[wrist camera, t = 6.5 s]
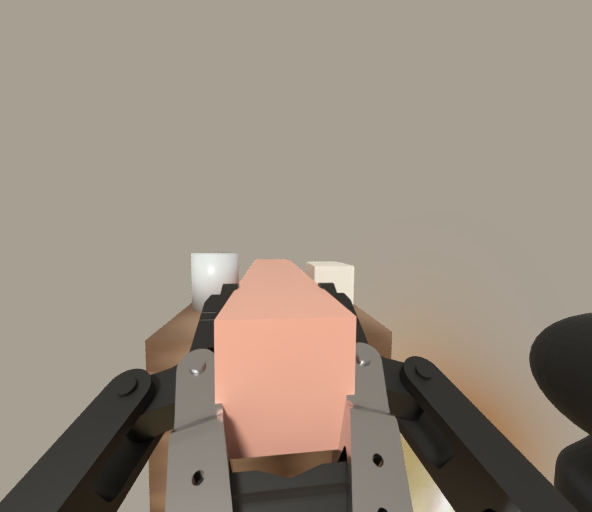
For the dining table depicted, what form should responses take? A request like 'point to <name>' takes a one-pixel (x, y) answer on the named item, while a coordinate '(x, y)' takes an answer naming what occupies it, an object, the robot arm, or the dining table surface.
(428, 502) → the dining table surface
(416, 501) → the dining table surface
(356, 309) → the walnut shelf
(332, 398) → the coral bar brick
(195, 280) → the grey-blue round brick
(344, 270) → the off-white block brick
